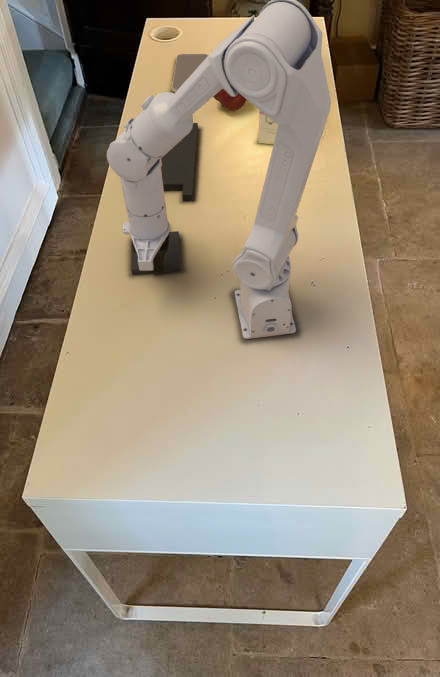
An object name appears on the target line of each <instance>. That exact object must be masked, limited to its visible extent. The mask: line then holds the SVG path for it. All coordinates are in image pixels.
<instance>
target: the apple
mask: <svg viewBox="0 0 440 677" xmlns="http://www.w3.org/2000/svg"><path fill="white" fill-rule="evenodd" d="M212 98H213V99H214V100H216V101H218V103H220V105H221V107H222V108H224V109H226V110H227V111H237V110H240V109H241V108H242V107H243V106H244V105H245V104H246V103H247V101H248V100H247V99H246V98H244V97H243V96H242V95H241V94H240V93H238V94H237V95H236V96H235V97H233V96H230V95H229V94H228V93H227V92H226V91H225V90H224V89H221V90H220V91H219V92H218V93H217V94H216V95H215V96H213V97H212Z"/></svg>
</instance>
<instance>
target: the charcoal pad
mask: <svg viewBox="0 0 440 677" xmlns="http://www.w3.org/2000/svg"><path fill="white" fill-rule="evenodd" d="M168 240H169V247H168V250H167V252H166V254H165V255H164V262H163V270H162V272H150V271H144V270H141V271H140V270H139V265H138V255H137V254H136V253H134V252H133V250H132V246H131V253H130V254H131V256H130V258H131V259H130V265H131V266H130V271H131V275H132V276H135V275H148V274H164V273H177V272H181V271H182V267H181V266H182V263H181V243H180V231H179V230H178V231H170V237H169V239H168Z"/></svg>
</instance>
